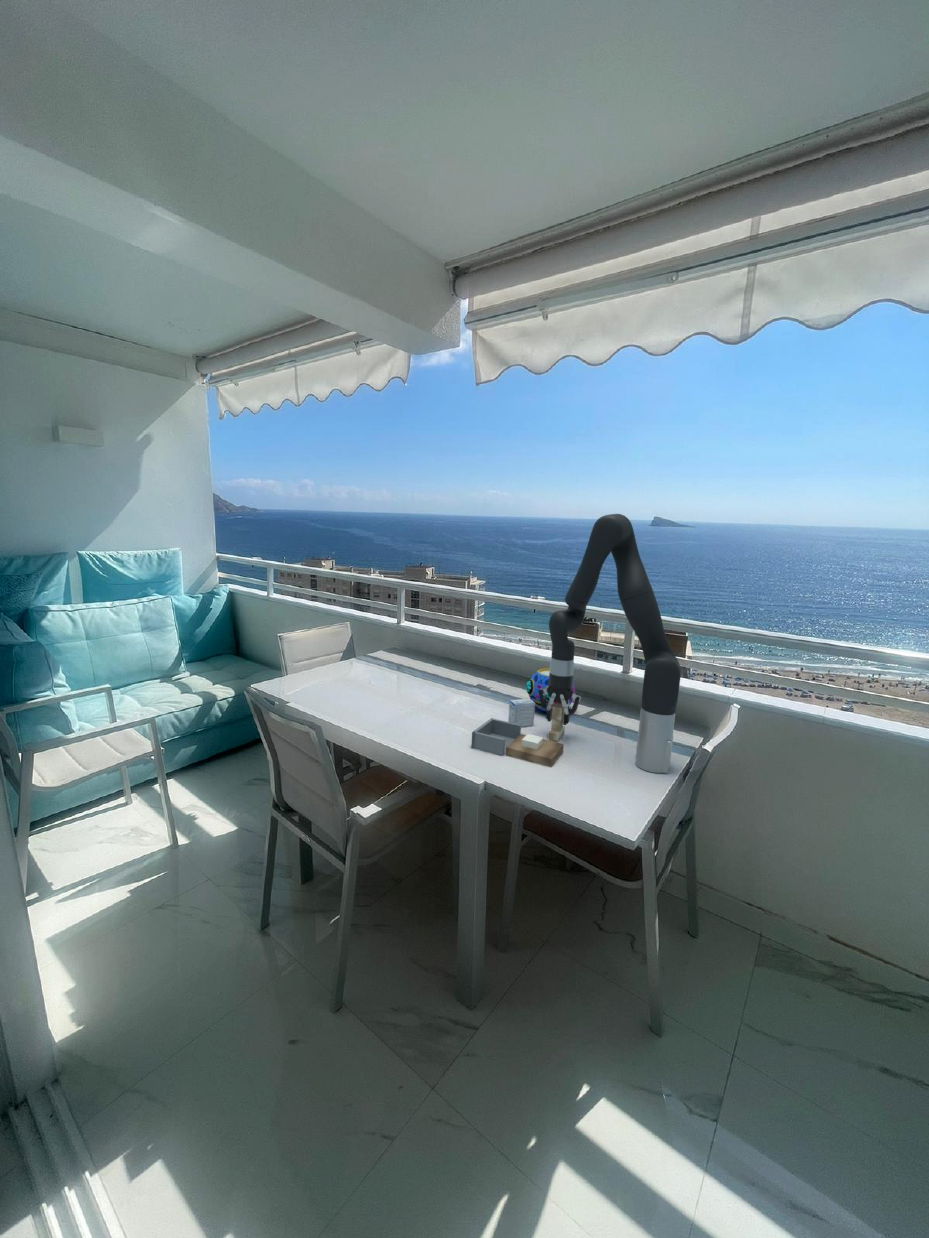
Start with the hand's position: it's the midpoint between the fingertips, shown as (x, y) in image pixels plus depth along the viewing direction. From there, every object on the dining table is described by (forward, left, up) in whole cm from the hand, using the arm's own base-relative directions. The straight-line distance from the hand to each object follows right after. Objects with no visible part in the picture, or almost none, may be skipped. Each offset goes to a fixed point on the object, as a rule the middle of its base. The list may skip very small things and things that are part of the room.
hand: (557, 722), depth 157 cm
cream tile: (+3, +15, -3) cm, 16 cm away
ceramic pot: (+10, -24, -6) cm, 27 cm away
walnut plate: (+2, +15, -5) cm, 16 cm away
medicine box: (+14, -4, -6) cm, 16 cm away
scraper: (0, 0, -5) cm, 5 cm away
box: (+15, +15, -5) cm, 22 cm away
